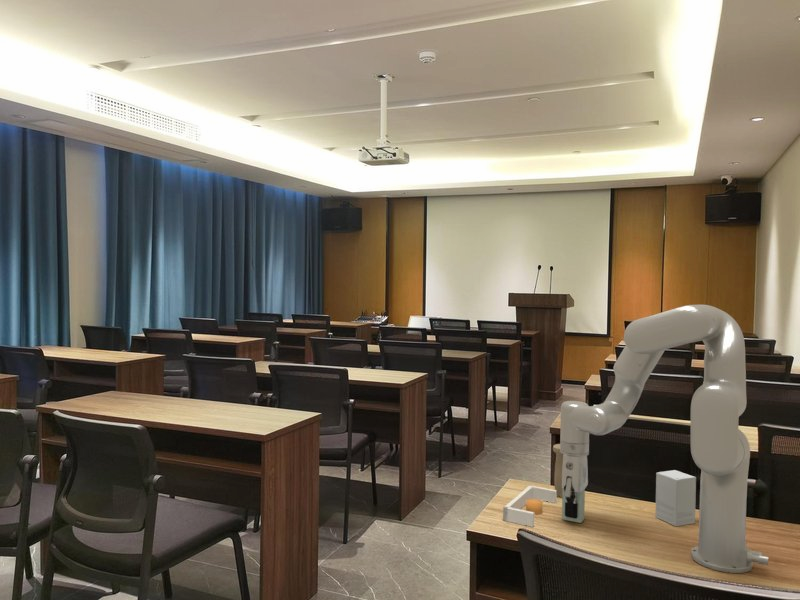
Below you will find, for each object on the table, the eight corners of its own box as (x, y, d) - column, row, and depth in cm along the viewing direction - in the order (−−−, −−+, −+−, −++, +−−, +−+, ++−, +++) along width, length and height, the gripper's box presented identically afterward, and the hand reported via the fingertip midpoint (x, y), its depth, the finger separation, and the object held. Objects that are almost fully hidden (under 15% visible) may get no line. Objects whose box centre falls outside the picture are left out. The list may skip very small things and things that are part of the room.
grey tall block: (584, 518, 163) (584, 489, 163) (580, 523, 160) (581, 493, 160) (565, 514, 166) (566, 485, 166) (562, 519, 162) (562, 489, 162)
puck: (544, 511, 169) (544, 500, 169) (539, 516, 165) (539, 505, 165) (529, 508, 171) (529, 497, 171) (523, 512, 168) (524, 502, 167)
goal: (556, 502, 176) (556, 490, 176) (532, 527, 157) (533, 513, 157) (529, 496, 180) (529, 485, 180) (503, 520, 161) (503, 507, 161)
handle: (570, 494, 184) (572, 445, 183) (566, 500, 178) (567, 450, 178) (555, 491, 186) (556, 443, 186) (549, 497, 180) (551, 447, 180)
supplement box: (696, 523, 162) (697, 477, 162) (675, 527, 159) (676, 479, 159) (674, 513, 169) (675, 469, 169) (654, 517, 166) (655, 471, 166)
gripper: (581, 456, 153) (579, 527, 154) (595, 442, 168) (594, 507, 168) (551, 452, 157) (550, 521, 157) (568, 439, 172) (567, 502, 172)
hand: (573, 513), depth 163 cm, fingers closed on grey tall block, 4 cm apart
